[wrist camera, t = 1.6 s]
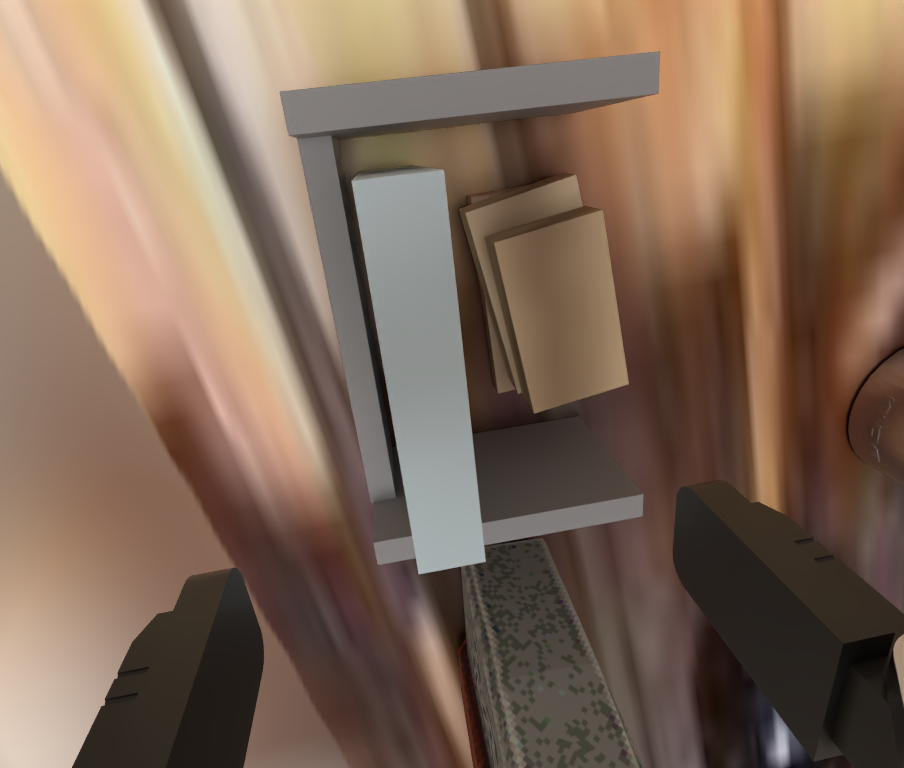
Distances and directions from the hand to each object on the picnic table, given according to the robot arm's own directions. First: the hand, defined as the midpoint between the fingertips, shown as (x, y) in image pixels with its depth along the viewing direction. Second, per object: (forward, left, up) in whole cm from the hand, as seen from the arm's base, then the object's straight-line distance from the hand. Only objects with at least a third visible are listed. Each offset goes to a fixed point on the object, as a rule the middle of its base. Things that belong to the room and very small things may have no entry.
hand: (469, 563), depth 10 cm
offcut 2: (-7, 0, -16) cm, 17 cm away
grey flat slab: (0, 0, -19) cm, 19 cm away
